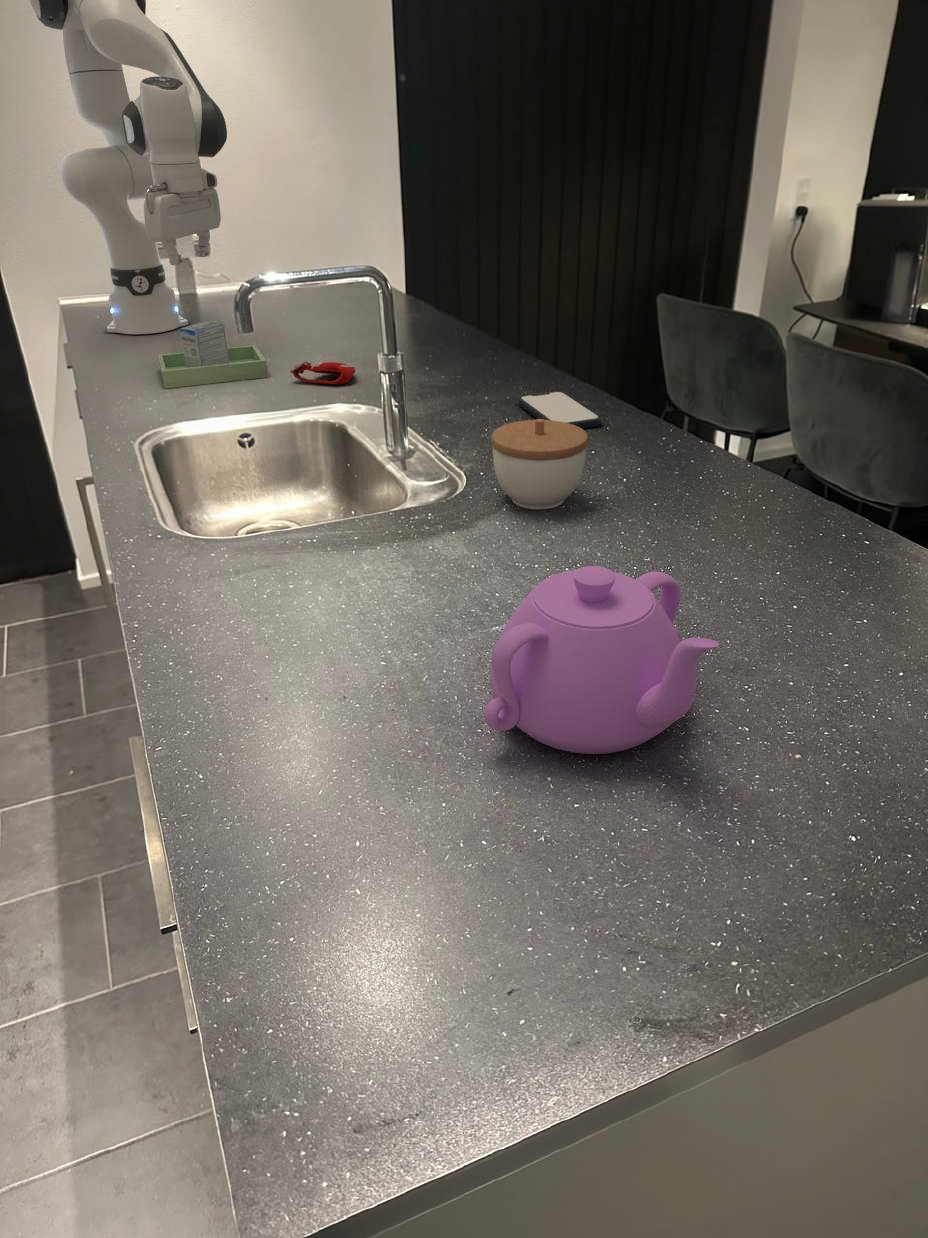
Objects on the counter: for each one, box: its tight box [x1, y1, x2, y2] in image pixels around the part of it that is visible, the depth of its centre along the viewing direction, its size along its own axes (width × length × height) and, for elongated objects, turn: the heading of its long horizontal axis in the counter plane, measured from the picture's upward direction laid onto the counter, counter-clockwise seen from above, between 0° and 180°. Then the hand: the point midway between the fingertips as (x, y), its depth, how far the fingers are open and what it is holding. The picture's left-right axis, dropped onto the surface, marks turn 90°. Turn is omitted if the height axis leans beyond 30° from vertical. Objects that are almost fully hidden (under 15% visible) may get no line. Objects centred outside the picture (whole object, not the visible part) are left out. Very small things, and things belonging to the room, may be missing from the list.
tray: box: [157, 344, 269, 389], centre depth 180 cm, size 14×20×3 cm
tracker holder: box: [289, 360, 356, 386], centre depth 174 cm, size 12×4×10 cm
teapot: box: [483, 565, 720, 755], centre depth 76 cm, size 22×22×14 cm
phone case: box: [518, 391, 601, 430], centre depth 153 cm, size 9×2×16 cm
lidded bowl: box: [491, 418, 589, 510], centre depth 120 cm, size 13×13×11 cm
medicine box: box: [179, 320, 229, 368], centre depth 179 cm, size 8×4×9 cm, turn 149°
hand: (190, 260), depth 172 cm, fingers open, 8 cm apart
